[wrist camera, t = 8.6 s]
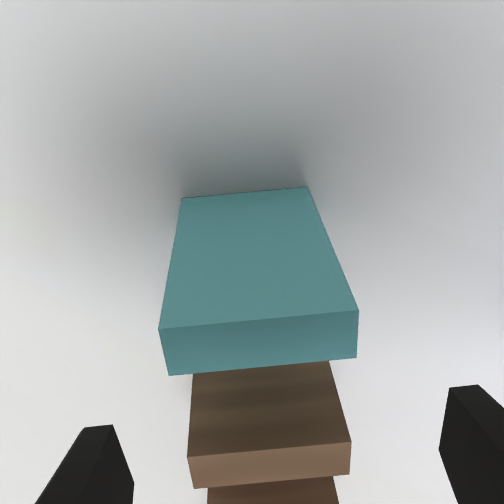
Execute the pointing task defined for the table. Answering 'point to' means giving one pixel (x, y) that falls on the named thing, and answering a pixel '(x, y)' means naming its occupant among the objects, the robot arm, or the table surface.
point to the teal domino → (254, 286)
